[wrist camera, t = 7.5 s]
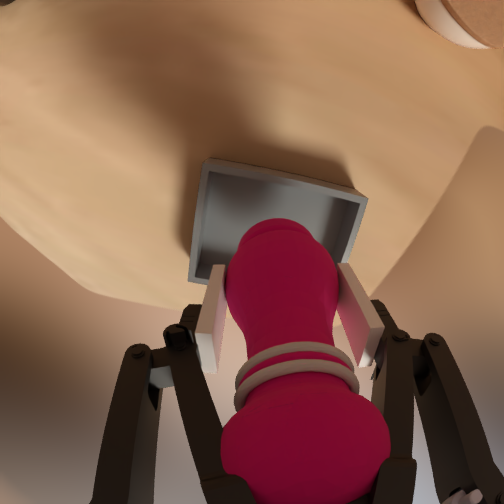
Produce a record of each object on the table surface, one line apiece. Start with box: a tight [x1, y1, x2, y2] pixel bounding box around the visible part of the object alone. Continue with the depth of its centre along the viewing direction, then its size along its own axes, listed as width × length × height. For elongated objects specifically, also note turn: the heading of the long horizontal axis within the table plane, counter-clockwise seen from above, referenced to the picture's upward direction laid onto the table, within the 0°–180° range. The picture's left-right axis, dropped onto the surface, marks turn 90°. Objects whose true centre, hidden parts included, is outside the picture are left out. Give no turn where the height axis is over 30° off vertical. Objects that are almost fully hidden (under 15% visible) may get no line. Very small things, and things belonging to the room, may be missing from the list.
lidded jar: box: [414, 0, 504, 49], centre depth 12 cm, size 11×11×9 cm
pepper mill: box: [221, 218, 391, 504], centre depth 13 cm, size 7×7×20 cm
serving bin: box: [188, 158, 368, 285], centre depth 26 cm, size 14×11×4 cm
